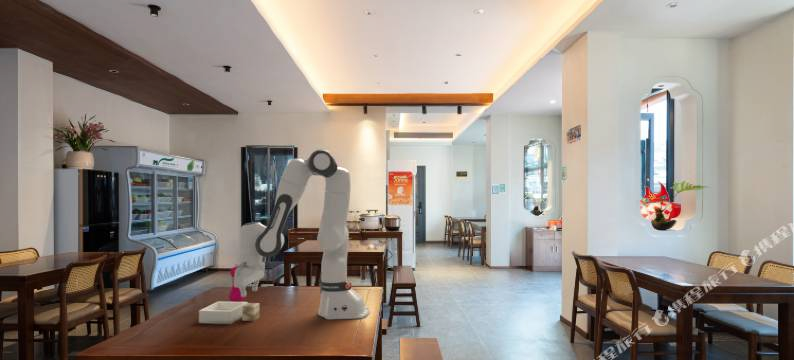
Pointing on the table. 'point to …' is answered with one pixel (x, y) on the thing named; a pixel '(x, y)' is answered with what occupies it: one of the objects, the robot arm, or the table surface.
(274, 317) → the table surface
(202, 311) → the serving bin
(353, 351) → the table surface
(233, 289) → the pepper mill
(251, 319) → the birch block
